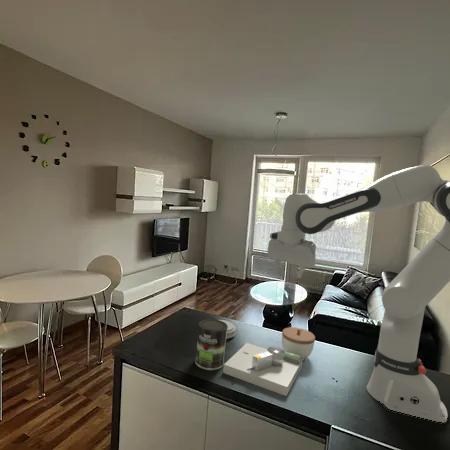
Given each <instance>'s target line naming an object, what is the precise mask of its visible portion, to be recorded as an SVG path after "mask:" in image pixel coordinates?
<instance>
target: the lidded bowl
mask: <svg viewBox="0 0 450 450" xmlns="http://www.w3.org/2000/svg"><path fill="white" fill-rule="evenodd" d="M315 340H316V336H315V334H313V332H311V331H309V330H307V329H304V328H301V327H293V326H291V327H290V326H288V327H285V328H283V330H282V332H281V345H282V350H284V351H286V352H289V353H292V354H295V355H299V356H300V358H301V360H302V361H304V360H306V359H307V358H308V357H309V356H310V355H311V354H312V352H313V350H314V345H315Z"/></svg>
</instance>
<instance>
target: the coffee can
mask: <svg viewBox="0 0 450 450" xmlns="http://www.w3.org/2000/svg"><path fill="white" fill-rule="evenodd" d="M219 320H220V319H213V318H212V319H211V318H207V319H206V318H205V319H202V320H201V321H199V323H198V333H197V340H196V341H197V343H196V353H195V362H194V363H195V365H196V366H197V367H198V368H200V369H202V370H206V371H216V370H217V371H218V370H220V369H221V368H223V367H224V364H225V362H224V361H225V352H226V342H227V339H226V335H227V328H228V326H227V324H226V323H224V322H222V321H219Z"/></svg>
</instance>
